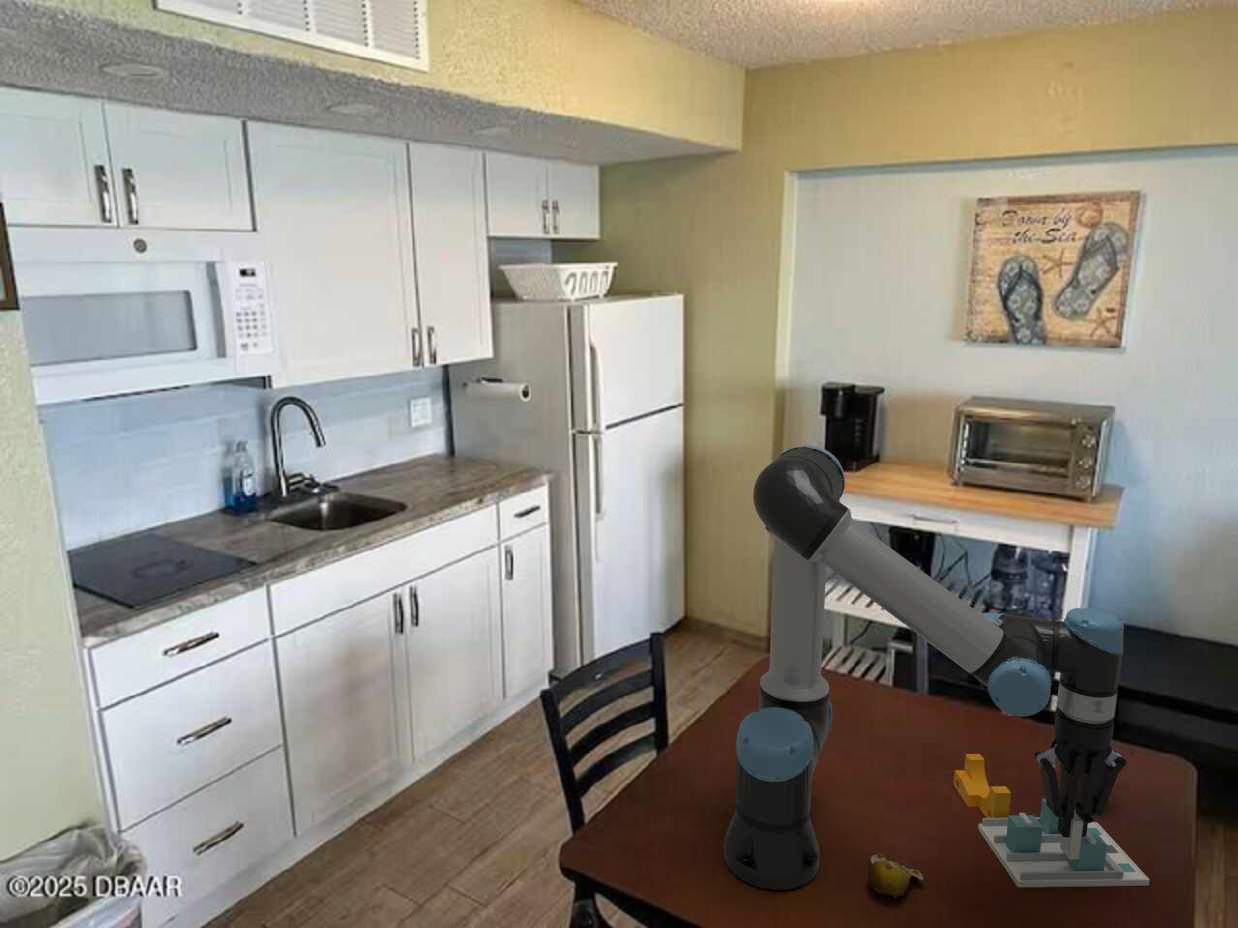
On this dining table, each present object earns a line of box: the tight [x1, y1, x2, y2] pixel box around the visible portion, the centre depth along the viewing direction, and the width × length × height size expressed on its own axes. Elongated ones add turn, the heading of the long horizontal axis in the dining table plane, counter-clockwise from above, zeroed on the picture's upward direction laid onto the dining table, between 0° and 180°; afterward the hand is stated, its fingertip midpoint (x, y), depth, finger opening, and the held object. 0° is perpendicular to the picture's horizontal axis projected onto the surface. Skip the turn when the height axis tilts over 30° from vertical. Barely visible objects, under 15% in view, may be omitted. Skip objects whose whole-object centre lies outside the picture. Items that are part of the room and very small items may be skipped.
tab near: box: [1067, 830, 1107, 871], centre depth 128 cm, size 4×3×6 cm
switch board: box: [977, 816, 1151, 888], centre depth 133 cm, size 20×14×2 cm
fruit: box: [867, 853, 924, 898], centre depth 127 cm, size 8×8×4 cm
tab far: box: [1039, 798, 1076, 834], centre depth 137 cm, size 4×3×6 cm
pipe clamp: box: [953, 753, 1012, 818], centre depth 146 cm, size 12×4×6 cm, turn 1°
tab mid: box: [1006, 812, 1043, 853], centre depth 132 cm, size 4×3×6 cm
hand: (1069, 853), depth 128 cm, fingers closed
